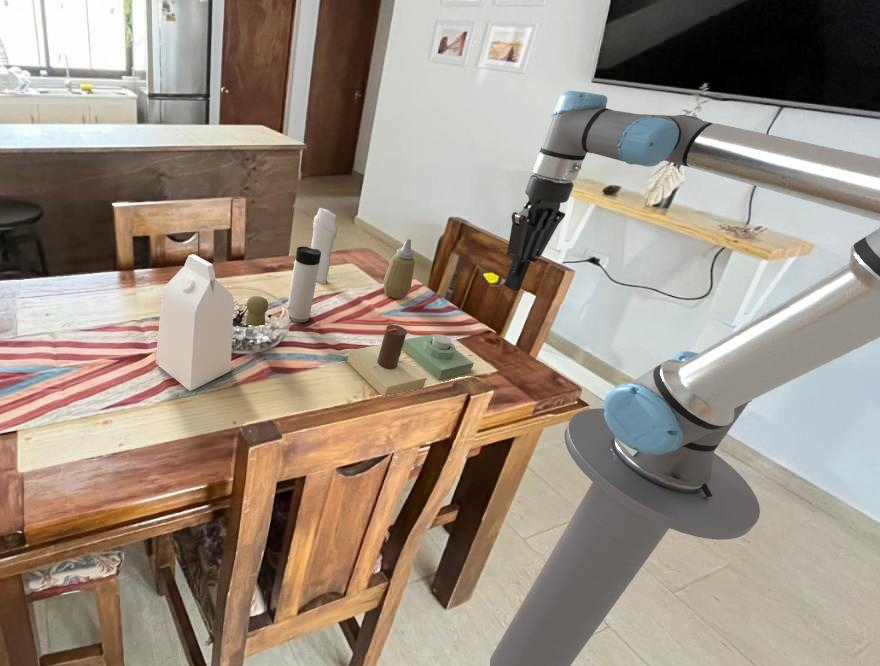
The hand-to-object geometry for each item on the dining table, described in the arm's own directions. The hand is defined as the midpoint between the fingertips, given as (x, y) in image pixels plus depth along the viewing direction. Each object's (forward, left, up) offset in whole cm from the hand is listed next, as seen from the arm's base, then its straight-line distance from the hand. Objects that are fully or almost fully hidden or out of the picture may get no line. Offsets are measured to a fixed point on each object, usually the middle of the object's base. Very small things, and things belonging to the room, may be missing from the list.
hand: (511, 287), depth 109 cm
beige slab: (+8, +21, -24) cm, 33 cm away
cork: (+30, +44, -24) cm, 58 cm away
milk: (+23, +62, -24) cm, 70 cm away
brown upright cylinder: (+8, +21, -21) cm, 31 cm away
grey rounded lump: (+9, +4, -20) cm, 22 cm away
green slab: (+9, +4, -24) cm, 26 cm away
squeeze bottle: (+40, -8, -24) cm, 47 cm away
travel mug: (+36, +28, -24) cm, 52 cm away
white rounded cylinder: (+56, +10, -24) cm, 62 cm away
